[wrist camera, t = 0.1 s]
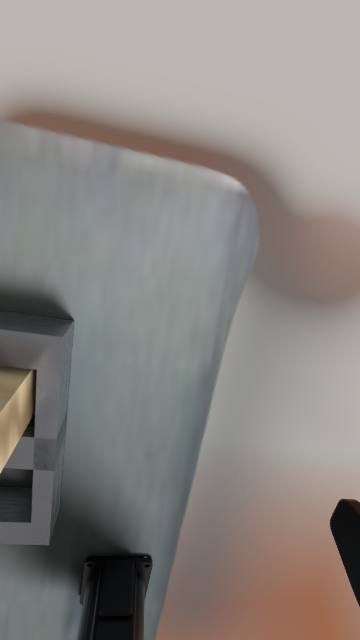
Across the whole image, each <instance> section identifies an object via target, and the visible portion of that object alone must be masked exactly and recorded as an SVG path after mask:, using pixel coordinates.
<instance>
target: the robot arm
mask: <svg viewBox="0 0 360 640" xmlns="http://www.w3.org/2000/svg"><path fill="white" fill-rule="evenodd" d="M330 527H331V531H332V534H333V537H334V540H335V542H336V545H337V548H338V551H339V553H340V556H341V559H342V562H343V564H344V567H345V570H346V573H347V576H348V578H349V581H350V584H351V586H352V589H353V592H354V594H355V597H356V599H357V602H358V604H359V606H360V502H358V501H357V500H354V499H341V500H340V501H339V502H338V504H337V506H336V508H335V510H334V512H333V514H332V517H331V519H330ZM151 570H152V559H151V558H120V557H88V558H87V559H86V560H85V564H84V572H83V580H82V588H81V596H80V604H82V605H83V606H82V613H81V619H80V625H79V631H78V637H77V640H144V600H145V596H146V592H147V587H148V583H149V579H150V574H151Z"/></svg>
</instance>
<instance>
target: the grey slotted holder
mask: <svg viewBox="0 0 360 640" xmlns="http://www.w3.org/2000/svg"><path fill="white" fill-rule="evenodd" d="M73 331H74V320H68V319H60V318H53V317H45V316H38V315H31V314H23V313H16V312H8V311H1V310H0V366H7V367H16V368H25V369H35V370H37V381H36V407H35V413H34V415H33V417H32V418H31V420H30V422H29V424H28V425H27V427H26V429H25V431H24V433H23V434H22V436H21V438H20V440H19V441H18V443H17V445H16V447H15V448H14V450H13V452H12V454H11V456H10V457H9V459H8V461H7V463H6V464H5V466H4V468H11V469H29V470H33V488H23V487H3V486H0V544H16V545H49V544H50V540H51V537H52V534H53V530H54V527H55V524H56V520H57V517H58V513H59V510H60V498H61V485H62V472H63V459H64V447H65V434H66V421H67V408H68V395H69V382H70V369H71V356H72V344H73Z"/></svg>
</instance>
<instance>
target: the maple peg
mask: <svg viewBox="0 0 360 640" xmlns="http://www.w3.org/2000/svg"><path fill="white" fill-rule="evenodd" d="M36 381H37V370H35V369H25V368H16V367H7V366H0V473H1V471H2V470H3V468H4V466H5V464H6V463H7V461H8V459H9V457H10V456H11V454H12V452H13V450H14V448H15V447H16V445H17V443H18V441H19V440H20V438H21V436H22V434H23V433H24V431H25V429H26V427H27V425H28V424H29V422H30V420H31V418H32V417H33V415H34V413H35V407H36Z"/></svg>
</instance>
